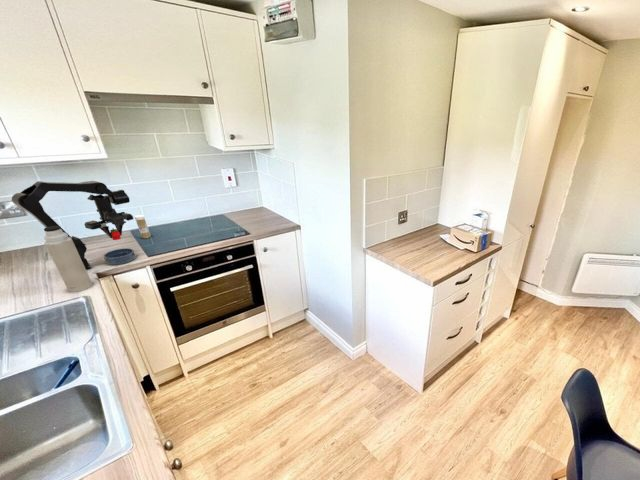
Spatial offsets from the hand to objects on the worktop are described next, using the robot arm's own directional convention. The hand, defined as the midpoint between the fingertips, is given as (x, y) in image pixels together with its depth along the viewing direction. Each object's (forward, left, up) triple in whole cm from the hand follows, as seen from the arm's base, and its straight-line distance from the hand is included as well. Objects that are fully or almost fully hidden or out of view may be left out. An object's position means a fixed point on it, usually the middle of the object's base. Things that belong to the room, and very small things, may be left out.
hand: (115, 236), depth 165 cm
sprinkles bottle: (+21, +15, -11) cm, 28 cm away
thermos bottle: (-27, -18, -11) cm, 34 cm away
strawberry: (0, 0, -1) cm, 1 cm away
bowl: (-4, -5, -11) cm, 12 cm away
